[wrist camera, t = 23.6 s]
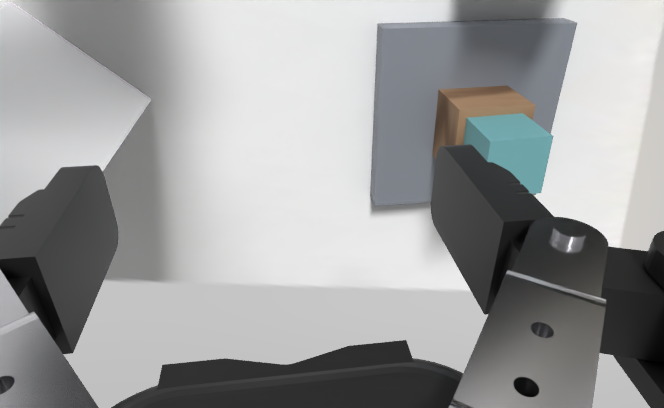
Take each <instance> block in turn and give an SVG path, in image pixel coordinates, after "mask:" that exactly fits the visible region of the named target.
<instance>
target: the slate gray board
mask: <svg viewBox="0 0 664 408" xmlns="http://www.w3.org/2000/svg"><path fill="white" fill-rule="evenodd" d="M576 26H577V23H576V22H573V21H570V20H567V19H565V18H558V19H524V20H490V21H455V22H421V23H387V24H378V31H377V54H376V78H375V101H374V124H373V148H372V171H371V195H370V196H371V198H372V201H373V203H374V206H383V205H397V204H411V203H425V202H431V198H432V189H433V180H434V172H435V163H436V159H435V158H434V156H433V155H432V152H433V142H434V132H435V122H436V112H437V102H438V92H439V89H454V88H472V87H489V86H509V87H510V88H512V89H513V90H514V91H516V92H517V93H519V94H520V95H522V96H523V97H524V98H526V99H527V100H529V101H530V102H532V103H533V104H534V105H536V106H535V111H534V116H533V121H534V122H535V123H537V124H538V125H539V126H541V127H542V128H543V129H545V130H546V131H547V132H548V133H551V129H552V125H553V121H554V117H555V113H556V109H557V104H558V100H559V96H560V92H561V88H562V84H563V80H564V75H565V71H566V67H567V63H568V59H569V55H570V51H571V46H572V42H573V38H574V34H575V30H576ZM532 195H536V193H534V194H532Z"/></svg>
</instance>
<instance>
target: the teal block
mask: <svg viewBox="0 0 664 408" xmlns="http://www.w3.org/2000/svg"><path fill="white" fill-rule="evenodd" d="M552 139H553V136H552V135H551V134H550V133H548V132H547V131H546V130H545V129H543V128H542V127H541V126H539V125H538V124H537V123H535V122H534V121H533V120H531V119H530V118H529V117H527V116H526V115H525V114H523V113H519V114H507V115H494V116H482V117H469V118H466V125H465V134H464V143H463V145H467V144H471V145H472V146H474V148H475V149H476V150H477V151H478V152H479V153H480V154H481V155H482V156H483V157H484V158H485V160H486V161H487V162H493V163H495V164H497V165H499V166H501V167H503V168H505V169H507V170H509V171H510V172H511V173H512V174H513V175H514V176H515V177H516V178H517V179H518V180H519V181H520V184H523V185H524V186H525V187H526V188H527V189H528V190H529V193H532V194H534V193H541V190H542V186H543V181H544V176H545V172H546V167H547V162H548V158H549V153H550V149H551V144H552Z"/></svg>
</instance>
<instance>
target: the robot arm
mask: <svg viewBox="0 0 664 408" xmlns="http://www.w3.org/2000/svg"><path fill="white" fill-rule="evenodd" d="M431 214H432V219H433V223H434V225H435V227H436V229H437V231H438V233H439V234H440V236H441V238H442V240H443V242H444V243H445V245H446V247H447V249H448V250H449V252H450V254H451V256H452V258H453V259H454V261H455V263H456V265H457V266H458V268H459V270H460V272H461V274H462V275H463V277H464V279H465V281H466V282H467V284H468V286H469V288H470V290H471V291H472V293H473V295H474V297H475V298H476V300H477V302H478V304H479V305H480V307H481V309H482V311H483V313H484V314H488V317H487V319H486V322H485V324H484V326H483V329H482V331H481V333H480V336H479V338H478V340H477V343H476V345H475V348H474V350H473V352H472V355H471V357H470V359H469V362H468V364H467V367H466V369H465V371H464V373H461V372H459V371H457V370H454V369H452V368H450V367H447V366H444V365H441V364H438V363H435V362H430V361H426V360H420V359H413V358H412V356H411V353H410V350H409V347H408V344H407V342H406V340H403V341H394V342H385V343H374V344H364V345H354V346H347V347H344V348H341V349H338V350H335V351H332V352H329V353H325V354H322V355H319V356H316V357H313V358H310V359H307V360H304V361H300V362H297V363H294V364H289V365H280V364H271V363H261V362H252V361H242V360H233V359H217V360H207V361H197V362H187V363H177V364H168V365H162V370H161V375H160V379H159V384H158V386H155V387H152V388H149V389H146V390H144V391H142V392H139V393H137V394H135V395H133V396H131V397H129V398H127V399H125V400H123V401H121V402H119V403H118V404H116V405H115V406H113V407H112V408H592V403H593V397H594V389H595V382H596V375H597V367H598V360H599V353H604V354H610V355H613V356H614V357H615V359H616V360H617V362H618V363H619V364H620V366H621V367H622V368H623V370H624V371H625V373H626V374H627V376H628V377H629V378H630V380H631V381H632V382H633V384H634V385H635V387H636V388H637V389H638V391H639V392H640V394H641V395H642V396H643V398H644V399H645V400H646V402H647V403H648V405H649V406H650V407H651V408H664V231H662V232H659V233H657V234H656V235H655V236H654V238H653V241H652V243H651V245H650V248H649V250H648V251H640V250H631V249H623V248H614V247H608V242H607V239H606V238H605V236H604V235H603V234H602V233H601V232H599V231H598V230H597V229H595V228H593V227H592V226H590V225H588V224H586V223H583V222H580V221H577V220H574V219H569V218H563V217H554V216H553V215H552V214H551V213H550V212H549V211H548V210H547V209H546V208H545V207H544V206H543V205H542V204H541V203H540V202H539V201H538V200H537V199H536V198H535V197H534V196H533V195H532V193H529V190H528V189H527V188H526V187H525V186H524V185H523V184H520V181H519V180H518V179H517V178H516V177H515V176H514V175H513V174H512V173H511V172H510V171H509V170H507V169H505V168H503V167H501V166H499V165H497V164H495V163H493V162H487V161H486V160H485V158H484V157H483V156H482V155H481V154H480V153H479V152H478V151H477V150H476V149H475V148H474V146H472V145H471V144H467V145H449V146H440V147H439V149H438V151H437V156H436V163H435V172H434V180H433V189H432V198H431ZM117 244H118V227H117V222H116V218H115V215H114V211H113V207H112V204H111V200H110V196H109V193H108V189H107V185H106V182H105V178H104V175H103V172H102V170H101V168H100V167H99V166H97V165H91V166H74V167H62V168H60V169H59V171H58V172H57V173H56V174H55V176H54V177H53V178H52V180H51V181H50V182H49V184H48V185H47V186H46V187H45V189H40V190H37V191H36V192H34V193H32V194H31V195H29V196H28V197H26V198H25V199H23V200H21V201H20V202H19V203H18V204H17V205H16V206H15V208H14V209H13V210H12V211H11V213H10V214H9V215H8V218H6V219H5V220H4V221H3V222H2V223H1V225H0V408H98V406H97V405H96V403H95V402H94V400H93V399H92V397H91V396H90V394H89V393H88V391H87V390H86V388H85V387H84V385H83V384H82V382H81V381H80V379H79V378H78V376H77V375H76V373H75V372H74V370H73V369H72V367H71V366H70V364H69V363H68V361H67V360H66V358H65V357H64V355H63V354H68V353H73V352H74V349H75V347H76V344H77V342H78V340H79V337H80V335H81V332H82V330H83V328H84V325H85V323H86V321H87V318H88V316H89V313H90V311H91V309H92V306H93V304H94V301H95V299H96V297H97V294H98V292H99V289H100V287H101V285H102V282H103V280H104V278H105V275H106V273H107V270H108V268H109V266H110V263H111V261H112V258H113V256H114V254H115V251H116V249H117Z"/></svg>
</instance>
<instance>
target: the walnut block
mask: <svg viewBox="0 0 664 408" xmlns="http://www.w3.org/2000/svg"><path fill="white" fill-rule="evenodd" d="M535 106H536V105H534V104H533V103H532V102H530V101H529V100H527V99H526V98H524V97H523V96H522V95H520V94H519V93H517V92H516V91H514V90H513V89H512V88H510V87H509V86H489V87H472V88H454V89H439V92H438V102H437V112H436V122H435V132H434V142H433V152H432V155H433V156H434V158H435V159H436V156H437V151H438V149H439V147H440V146H449V145H463V143H464V134H465V125H466V118H469V117H482V116H494V115H507V114H519V113H523V114H525V115H526V116H527V117H529V118H530V119H531V120H533V116H534V111H535Z"/></svg>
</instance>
